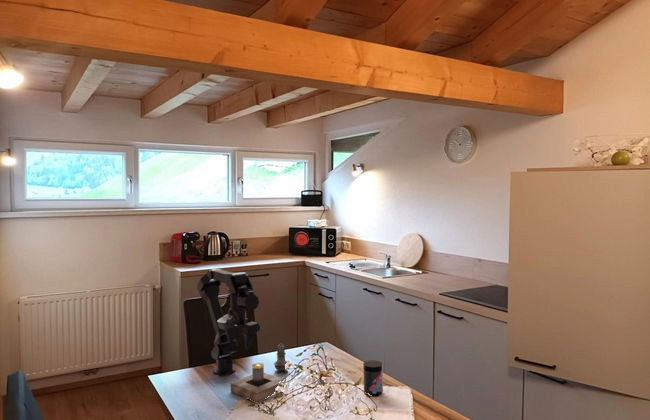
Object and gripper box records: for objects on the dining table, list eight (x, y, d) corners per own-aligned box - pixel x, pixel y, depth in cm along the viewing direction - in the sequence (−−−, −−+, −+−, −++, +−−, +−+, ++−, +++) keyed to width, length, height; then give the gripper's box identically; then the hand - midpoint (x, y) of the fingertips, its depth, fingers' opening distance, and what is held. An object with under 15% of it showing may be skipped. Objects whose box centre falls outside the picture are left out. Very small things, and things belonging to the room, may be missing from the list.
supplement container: (365, 397, 164) (364, 367, 164) (362, 389, 171) (361, 360, 171) (384, 396, 165) (384, 366, 164) (380, 388, 171) (380, 360, 171)
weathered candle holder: (286, 375, 186) (285, 344, 186) (272, 374, 187) (271, 344, 187) (290, 369, 192) (290, 340, 191) (276, 369, 193) (275, 339, 192)
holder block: (230, 392, 170) (230, 382, 170) (260, 380, 181) (260, 371, 181) (257, 403, 161) (256, 392, 161) (286, 389, 172) (286, 380, 172)
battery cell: (250, 390, 171) (249, 365, 171) (258, 386, 174) (258, 362, 174) (258, 393, 168) (257, 367, 168) (266, 389, 171) (265, 364, 171)
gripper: (205, 306, 180) (206, 347, 181) (237, 313, 168) (238, 357, 169) (229, 301, 189) (230, 340, 189) (260, 307, 176) (261, 349, 177)
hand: (239, 346), depth 181 cm, fingers open, 9 cm apart
